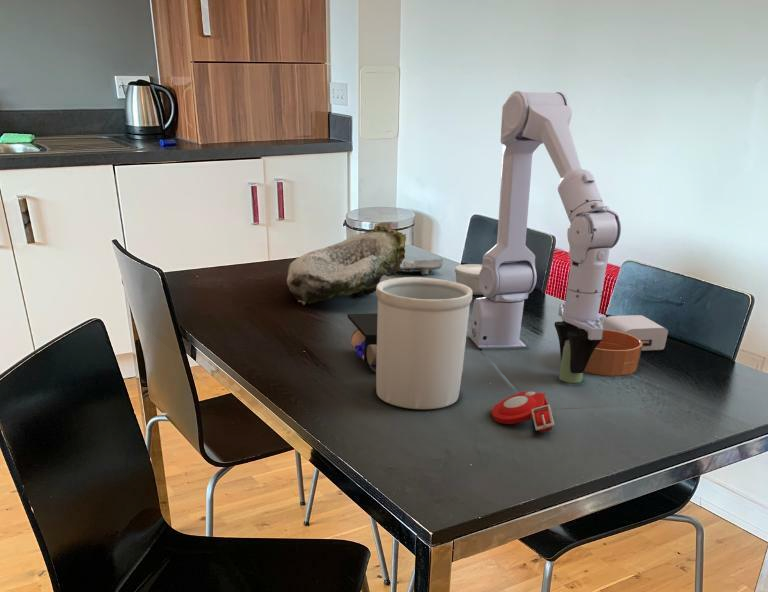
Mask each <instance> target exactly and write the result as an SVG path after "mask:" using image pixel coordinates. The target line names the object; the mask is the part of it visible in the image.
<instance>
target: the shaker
mask: <svg viewBox="0 0 768 592" xmlns="http://www.w3.org/2000/svg"><path fill="white" fill-rule="evenodd" d="M570 357H571V350H570V342H569V340H566V341H565V345H564V347H563V354H562V360H561V359H560V366H559V374H558V379H559V380H560V381H562V382H564V383H570V384H579V383H581V382H582V381H583V378H584V372H583V373H571V370H570Z"/></svg>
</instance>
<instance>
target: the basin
mask: <svg viewBox="0 0 768 592" xmlns="http://www.w3.org/2000/svg"><path fill="white" fill-rule="evenodd" d="M602 336H603V338H602V341H601V342H600V343H599V344H598V345H597V347H596V348H595V349H594V351H593V353H592V355H591V357H590V359H589V361H588V363H587V366H586V368H585V370H584V372H583V373H587V374H593V375H597V376H598V375H599V376H608V377H613V376H614V377H615V376H616V377H617V376H618V377H619V376H627V375H631V374H633V373H636V372H637V370H638V368H639V364H640V359H641V354H642V351H641V350H642V345H643V344H642V342H641V340H639V339H638V338H637V337H634V336H632V335H629V334H626V333H622V332H618V331H612V330H604V329H603V333H602Z"/></svg>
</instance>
